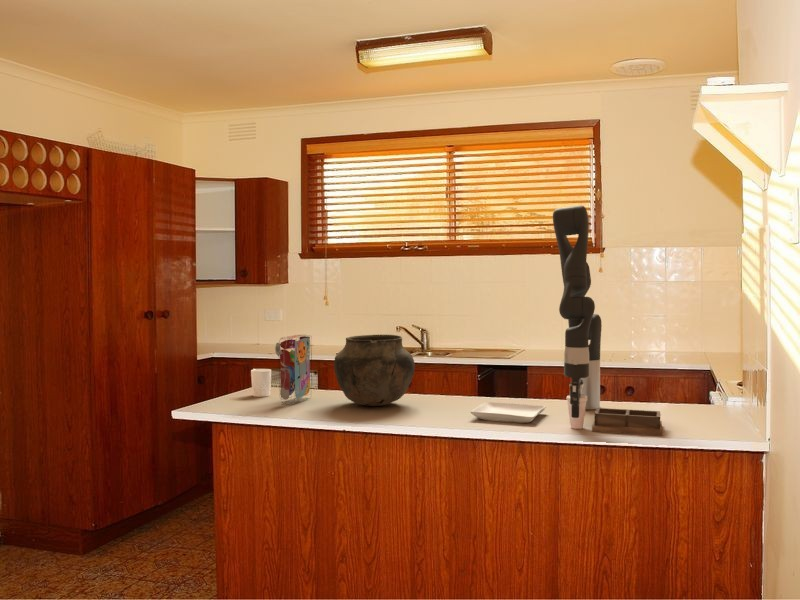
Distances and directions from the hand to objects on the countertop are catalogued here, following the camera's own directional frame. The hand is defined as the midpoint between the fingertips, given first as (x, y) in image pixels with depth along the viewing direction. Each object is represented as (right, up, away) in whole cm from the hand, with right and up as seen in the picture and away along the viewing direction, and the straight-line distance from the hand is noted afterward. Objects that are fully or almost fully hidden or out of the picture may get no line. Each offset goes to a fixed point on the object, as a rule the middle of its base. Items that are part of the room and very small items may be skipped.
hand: (576, 415), depth 232 cm
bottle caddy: (+15, -4, -1) cm, 16 cm away
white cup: (-109, -2, +62) cm, 125 cm away
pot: (-64, -3, +40) cm, 75 cm away
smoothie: (0, -4, 0) cm, 4 cm away
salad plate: (-18, -4, +18) cm, 26 cm away
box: (-95, -3, +45) cm, 105 cm away
